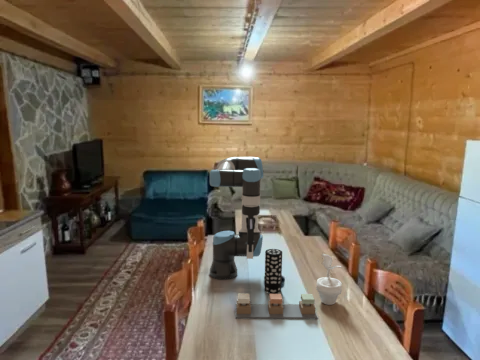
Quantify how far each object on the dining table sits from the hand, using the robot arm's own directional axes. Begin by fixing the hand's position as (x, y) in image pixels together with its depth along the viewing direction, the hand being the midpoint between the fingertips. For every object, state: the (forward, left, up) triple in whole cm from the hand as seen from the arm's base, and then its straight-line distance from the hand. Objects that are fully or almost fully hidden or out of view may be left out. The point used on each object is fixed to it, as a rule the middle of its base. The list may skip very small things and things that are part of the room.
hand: (249, 257), depth 159 cm
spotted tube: (-19, +13, -25) cm, 34 cm away
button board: (+2, +12, -24) cm, 27 cm away
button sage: (+2, +26, -22) cm, 34 cm away
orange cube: (+2, +12, -22) cm, 25 cm away
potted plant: (-7, +38, -25) cm, 45 cm away
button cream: (+2, -2, -22) cm, 22 cm away
